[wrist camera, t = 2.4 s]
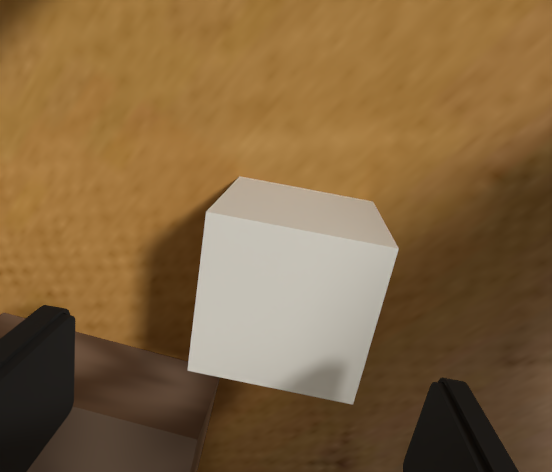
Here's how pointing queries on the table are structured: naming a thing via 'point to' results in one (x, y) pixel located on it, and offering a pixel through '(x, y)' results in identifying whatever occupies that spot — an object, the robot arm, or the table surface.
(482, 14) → the table surface
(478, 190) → the table surface
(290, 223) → the white cube
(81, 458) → the walnut block
